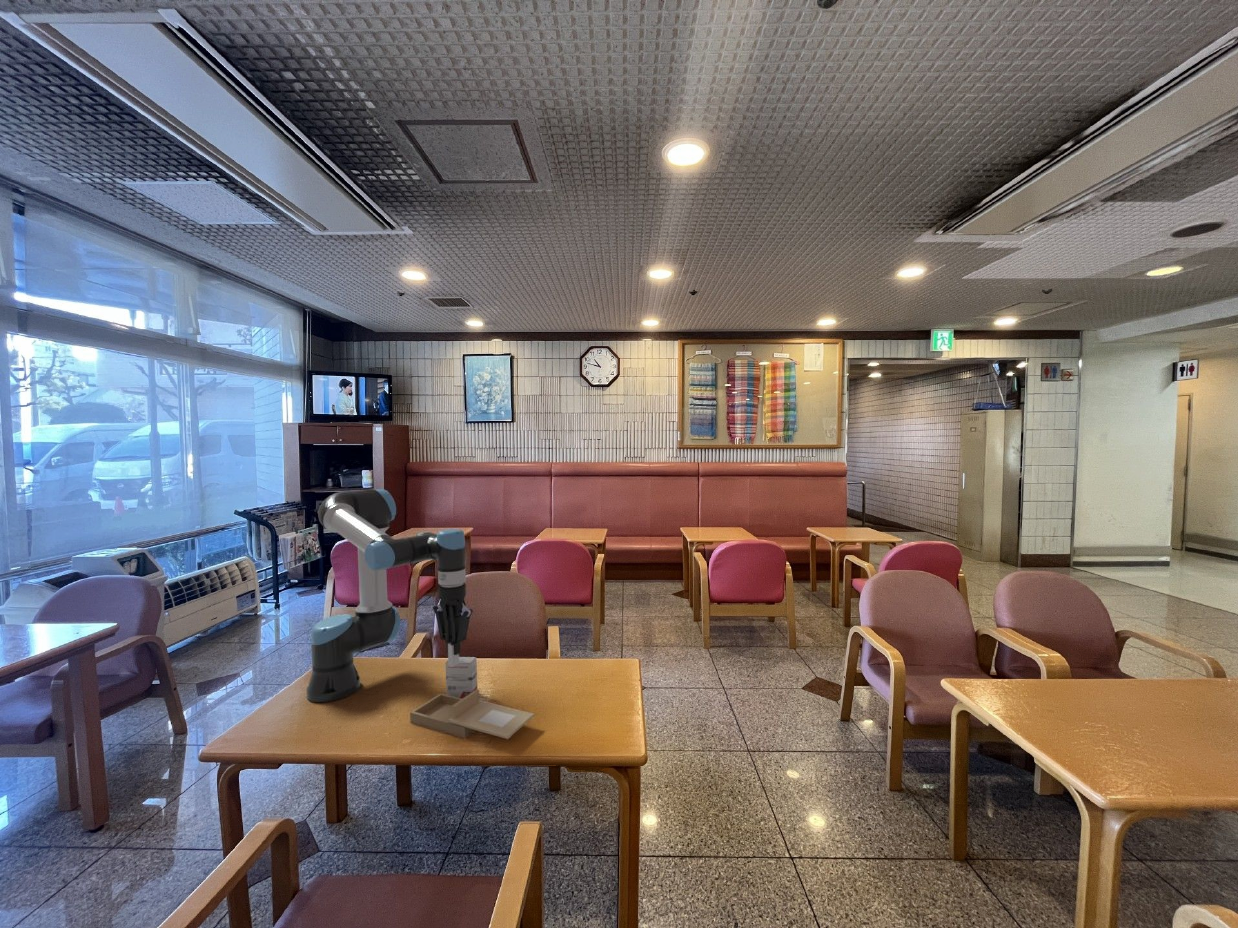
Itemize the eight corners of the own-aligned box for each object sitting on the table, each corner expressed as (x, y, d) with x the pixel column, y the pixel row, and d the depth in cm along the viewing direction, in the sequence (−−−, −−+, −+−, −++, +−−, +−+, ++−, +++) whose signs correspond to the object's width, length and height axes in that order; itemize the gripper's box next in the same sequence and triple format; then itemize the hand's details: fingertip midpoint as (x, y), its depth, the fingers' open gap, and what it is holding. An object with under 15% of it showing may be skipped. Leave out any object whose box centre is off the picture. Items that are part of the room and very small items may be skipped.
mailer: (410, 722, 142) (410, 712, 142) (441, 702, 153) (441, 693, 153) (464, 738, 134) (464, 727, 133) (493, 716, 144) (493, 706, 144)
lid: (448, 722, 136) (447, 707, 136) (477, 701, 147) (477, 687, 147) (507, 738, 128) (507, 723, 127) (534, 715, 139) (533, 700, 138)
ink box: (478, 692, 159) (477, 656, 158) (472, 700, 154) (471, 662, 154) (452, 691, 160) (451, 655, 159) (445, 699, 155) (444, 662, 154)
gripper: (425, 584, 141) (426, 665, 142) (460, 589, 135) (462, 674, 136) (444, 578, 148) (446, 655, 149) (478, 582, 142) (480, 663, 143)
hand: (453, 664), depth 142 cm, fingers closed
